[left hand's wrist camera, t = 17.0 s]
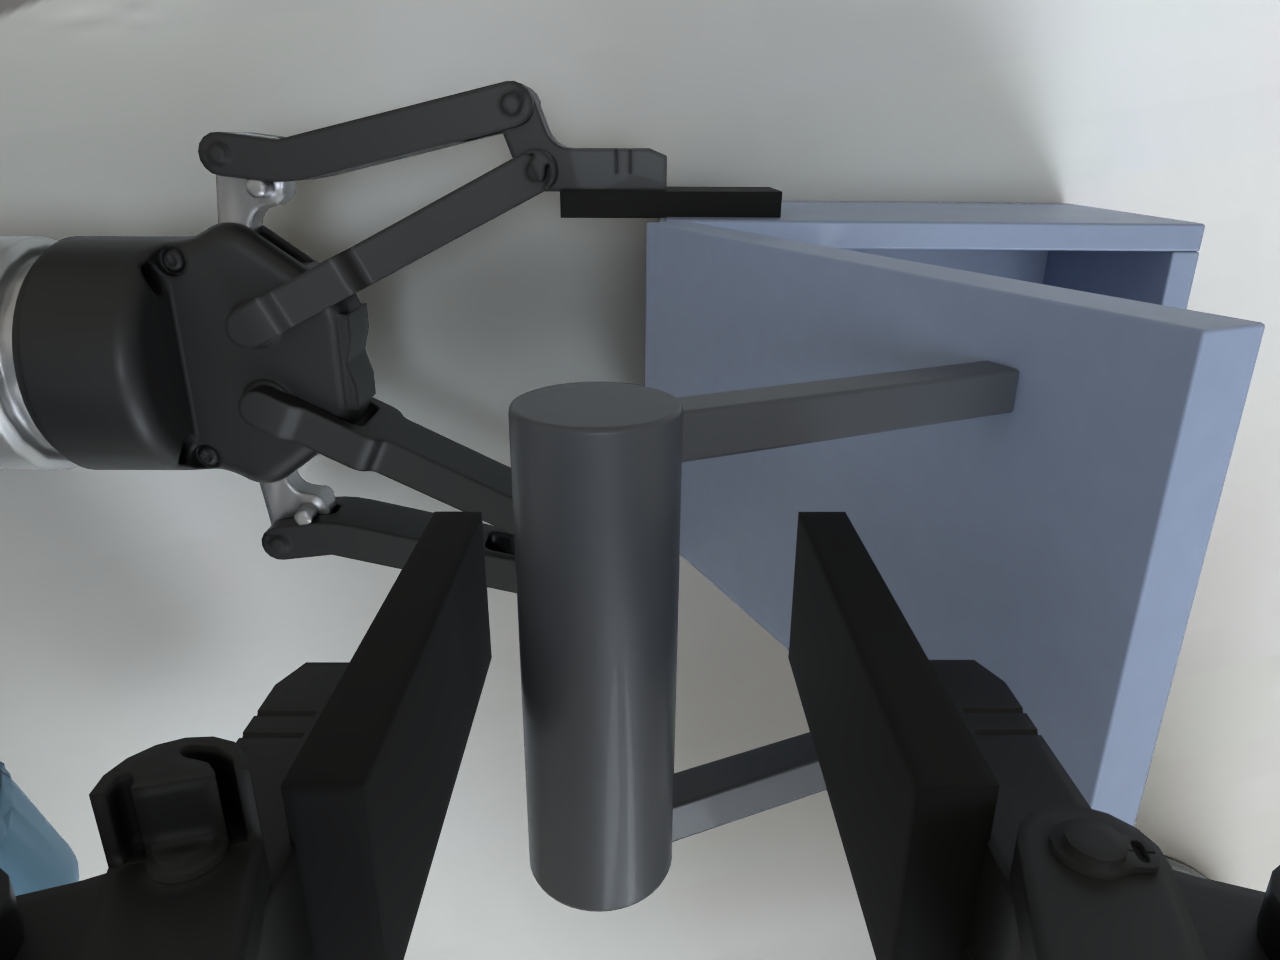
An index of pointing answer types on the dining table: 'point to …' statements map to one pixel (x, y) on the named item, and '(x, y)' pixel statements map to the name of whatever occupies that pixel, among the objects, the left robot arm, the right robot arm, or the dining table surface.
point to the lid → (857, 518)
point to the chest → (1004, 241)
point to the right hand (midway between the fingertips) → (765, 357)
